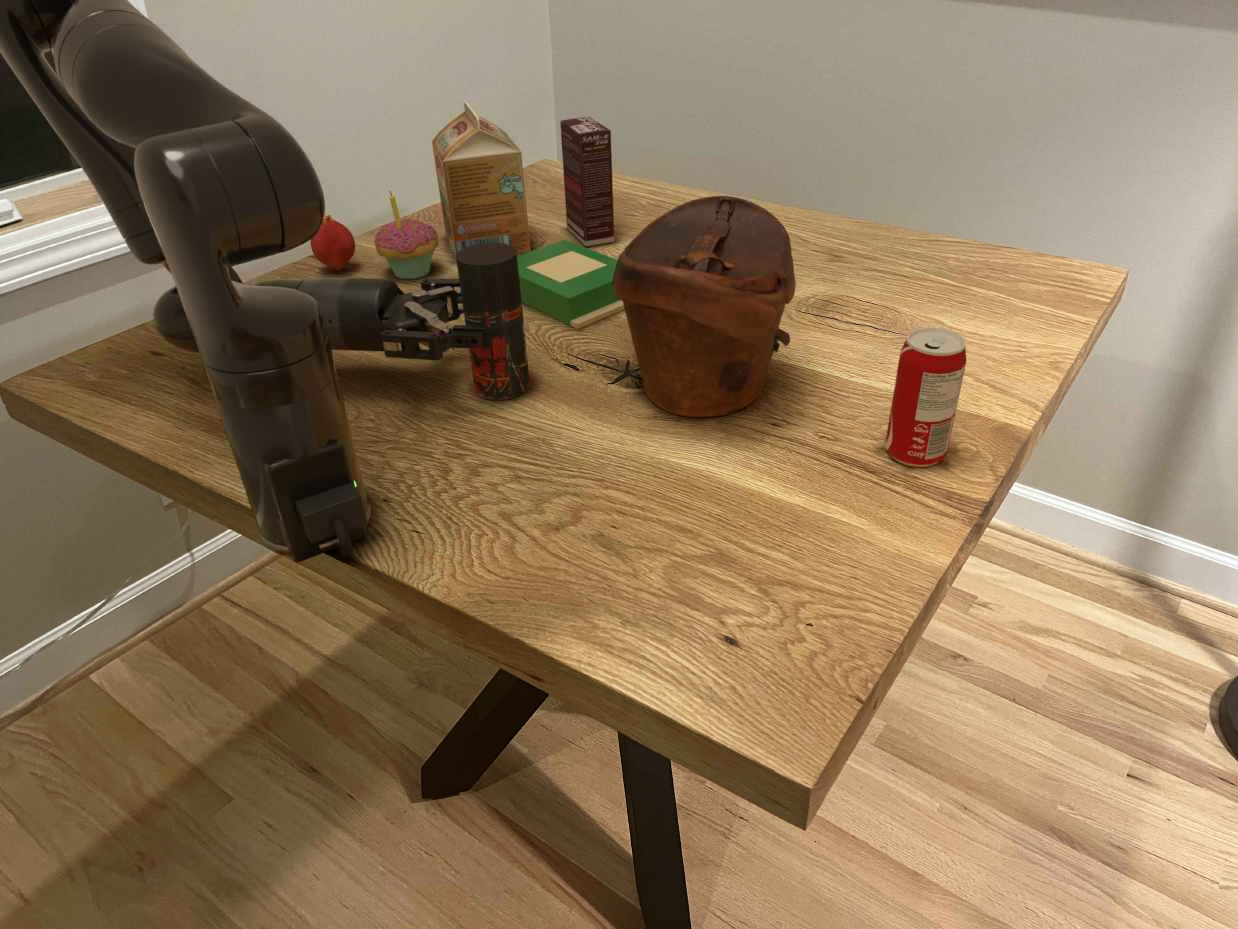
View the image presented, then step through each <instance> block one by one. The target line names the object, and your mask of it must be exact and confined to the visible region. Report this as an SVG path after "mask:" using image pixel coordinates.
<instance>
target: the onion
mask: <svg viewBox="0 0 1238 929" xmlns="http://www.w3.org/2000/svg"><path fill="white" fill-rule="evenodd" d="M310 248H311V251H312V254H313V255H314V258H315V259H316V260H318V262H320V263H321V264H323V265H324V266H326V267H328V268H331V269H332V270H334V271H336V272H340V271H343V270H344V268H345V267H346V266H347V264H349V262H350V261H351V259H352V258H353V257H354V255H355V252H356V241H355V238H354V235H353V234H352V231H350V230H349V228H348V227H346V226H345V225H344V224H343V223H341V222H340V221H338V220H335V219H333V217H332V214H329V213H328V214H324V220H323V223H322V226H321V228H320V230H319V232H318V233H317V234H316V235H315V236H314V237H313V238H312V239H311V240H310Z"/></svg>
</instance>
